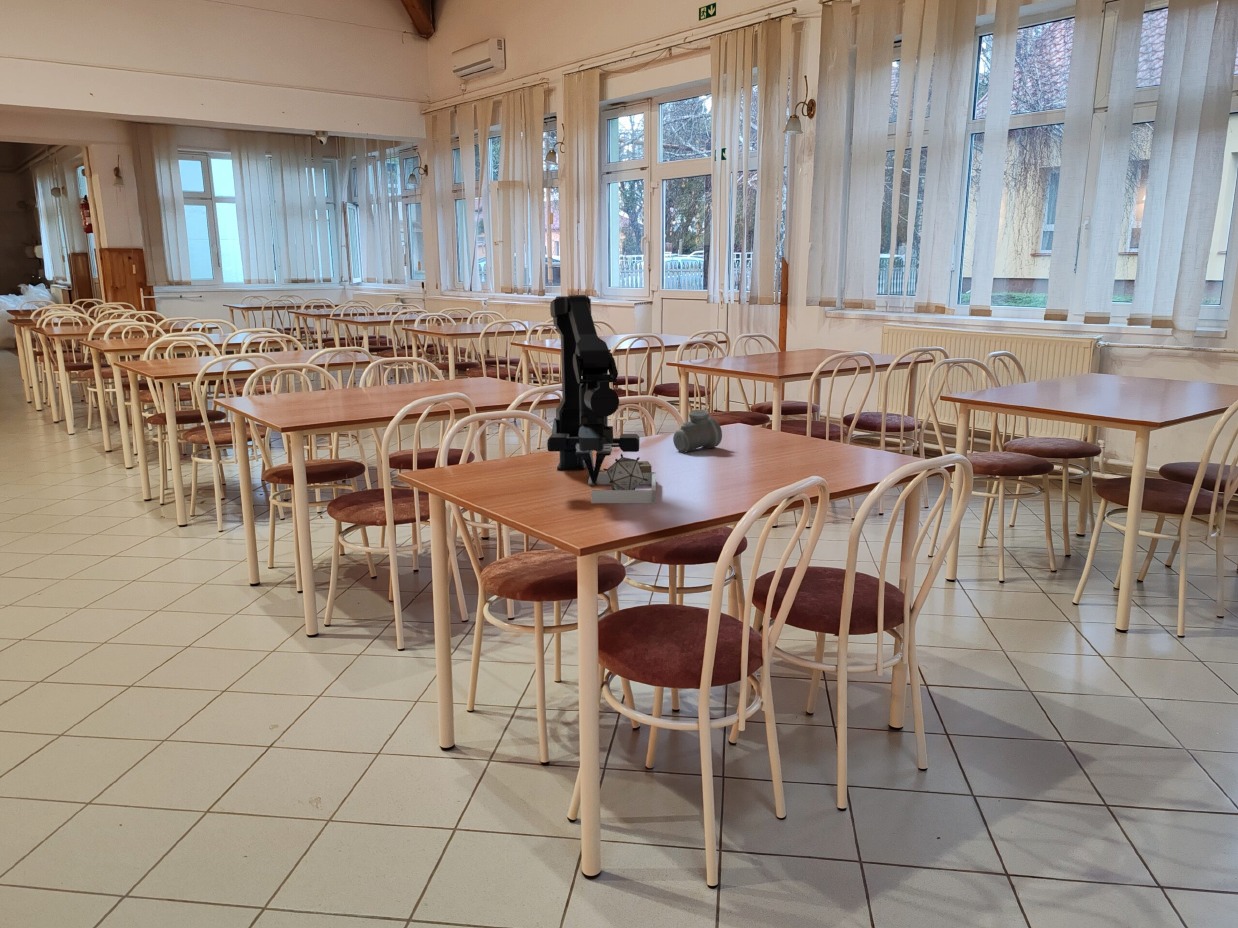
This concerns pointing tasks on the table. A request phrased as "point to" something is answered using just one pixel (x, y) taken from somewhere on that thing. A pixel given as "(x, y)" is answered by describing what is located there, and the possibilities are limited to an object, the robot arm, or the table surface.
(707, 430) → the pipe fitting
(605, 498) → the tray
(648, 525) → the table surface
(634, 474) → the game die
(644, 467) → the drilled block
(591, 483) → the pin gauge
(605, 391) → the robot arm
